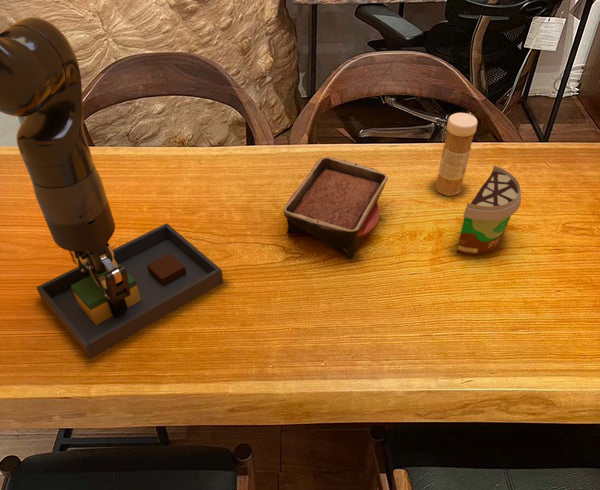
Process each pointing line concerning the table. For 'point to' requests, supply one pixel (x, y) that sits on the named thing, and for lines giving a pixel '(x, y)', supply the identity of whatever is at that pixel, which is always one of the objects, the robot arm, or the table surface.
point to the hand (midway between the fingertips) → (109, 301)
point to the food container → (489, 214)
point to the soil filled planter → (337, 203)
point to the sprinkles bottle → (455, 153)
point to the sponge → (100, 298)
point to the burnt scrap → (166, 269)
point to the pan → (152, 293)
